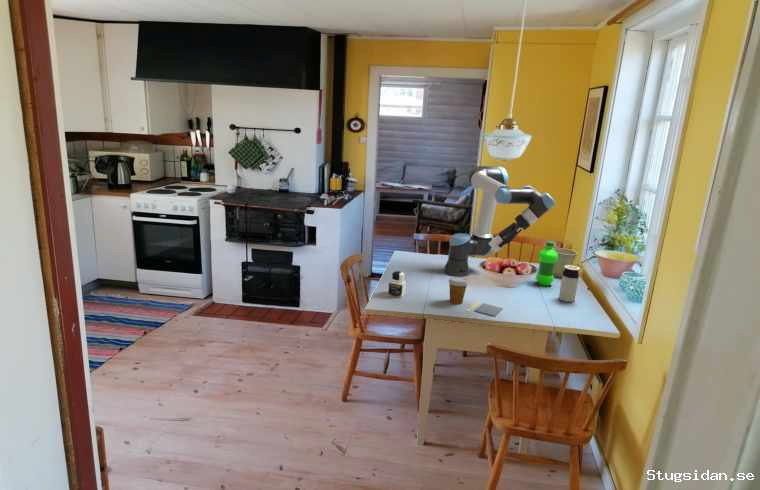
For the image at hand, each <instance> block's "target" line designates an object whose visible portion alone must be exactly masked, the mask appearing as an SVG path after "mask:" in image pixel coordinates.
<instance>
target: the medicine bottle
mask: <svg viewBox="0 0 760 490" xmlns="http://www.w3.org/2000/svg"><path fill="white" fill-rule="evenodd" d="M406 290H407V280H405V273H404V272H402V271H393V272H392V274H391V280H390V281H389V282H388V292H387V294H388V295H387V296H390V297H394V298H398V299H399V298H400V299H401V298H403V297H404V295H406Z"/></svg>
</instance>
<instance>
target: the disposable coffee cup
mask: <svg viewBox="0 0 760 490" xmlns="http://www.w3.org/2000/svg"><path fill="white" fill-rule="evenodd" d="M448 283H449V303H451V304H454V305H461V304H463V302H464V297H465V295H466V290H467V285H468V284H469V282H468V279H467V278H466V277H464V276H450V277H449V279H448Z"/></svg>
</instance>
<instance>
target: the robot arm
mask: <svg viewBox="0 0 760 490" xmlns="http://www.w3.org/2000/svg"><path fill="white" fill-rule="evenodd" d="M467 182H468V184H469V185H470V186H471V187H473V188H475V189H480V190H481V191H482V196H481V202H480V205H479V206H480V208H479V213H478V217H477V222H476V228H475V230H474V231H473V232H472V234H471V235H470V234H469V233H461V232H459V233H454V234H453V235H451V236H450V239H449V248H448V256H447V257H448V258H447V261H446V263H445V265H444V269H443V272H444V273H445V274H447V275H450V276H452V277H455V276H457V277H467V276H469V275H470V273H471V272H470V271H471V270H470V266H469V257H475V256H477V257H479V256H481V257H483V256H489V255H491V254H492V253H493V252H494V254H497V252H498V251H500V250H501V249H502V248H504V246H506V245H507V244H510V243H511V242H512V241H513V240H514V239H515V238H516V237H517V236H518V235H519V233H520V232H522V231H523V230H524V231H527V229H529V227H530V226H531V225H533V224H534V223H537V220H539V219H540V218H541V217H542V216H543V215H545V214H546V213H547V212H549V211H551V210H552V208H553V207H554V206H555V205H556V201H555V200H554V198H553V197H552V196H551V195H550V194H549V193H548V192H544V193H542V194H541V193H540V192H539V191H538V190H537V189H536V188H534V187H532V186H531V185H525V186H523V187H521V188H516V187H515V188H514V187H513V188H512V187H510V186H508V182H509V174H508V172H507V170H506V168H504V167H502V166H497V165H495V166H493V165H492V166H490V165H489V166H488V165H485V166H484V165H478V166H475V167H473V168H471V169H470V170H469V172H468V174H467ZM497 203H498V204H503V205H506V204H507V205H517V204H518V205H520V204H521V205H528V207H526V208H525V209H524V210H522V211H521V213H520V214H518V215H517V216H515V218H514V221H515V222H514V221H513V222H512V223H510V225H509V226H506V227H505V228H504V229H502V230H501V231H499V232H498V235H495V237H493V234H492V233H491V232H492V226H493V221H494V216H495V212H496V208H497Z"/></svg>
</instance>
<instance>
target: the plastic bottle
mask: <svg viewBox="0 0 760 490" xmlns="http://www.w3.org/2000/svg"><path fill="white" fill-rule="evenodd" d="M545 246H546V248H544V249H542V250H541V251H539V253H538V259H539V266H538V272H537V273H536V276H535V280H536V282H537V283H538V284H539V285H540V286H544V287H548V286H549V285H551V284H552V283H553V282H554V280H555V276H554V275H553V271H554V264H555V262H556V261H557V260H558V254H557V253H556V252H555V251H554V250H553V248H554V246H555V242H553V241H546V242H545Z"/></svg>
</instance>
